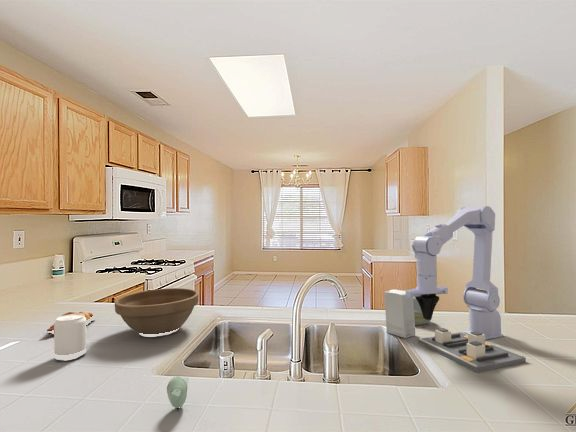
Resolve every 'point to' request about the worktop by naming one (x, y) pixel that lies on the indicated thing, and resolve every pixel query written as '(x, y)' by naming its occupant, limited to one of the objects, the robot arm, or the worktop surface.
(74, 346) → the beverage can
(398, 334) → the skincare box
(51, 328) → the croissant
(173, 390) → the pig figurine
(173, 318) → the brown round bowl
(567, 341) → the worktop surface
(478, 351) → the switch
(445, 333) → the switch
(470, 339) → the switch middle
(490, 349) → the console
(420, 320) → the air freshener
